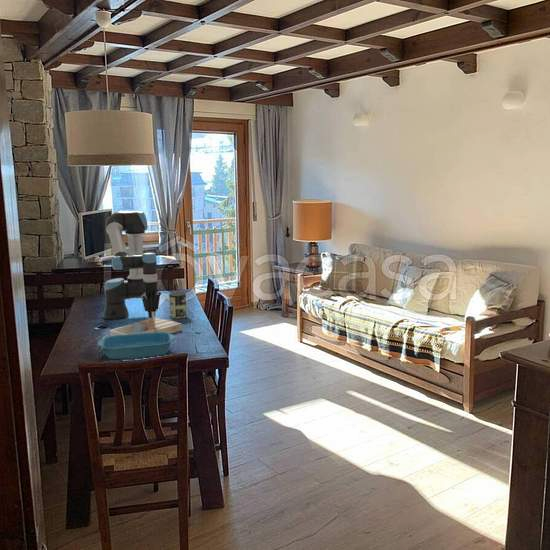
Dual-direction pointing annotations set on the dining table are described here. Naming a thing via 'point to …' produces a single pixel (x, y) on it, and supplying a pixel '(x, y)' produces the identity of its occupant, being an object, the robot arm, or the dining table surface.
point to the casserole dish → (136, 345)
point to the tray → (126, 330)
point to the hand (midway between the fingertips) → (152, 323)
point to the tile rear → (148, 323)
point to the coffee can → (177, 305)
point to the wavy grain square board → (165, 326)
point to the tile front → (138, 328)
